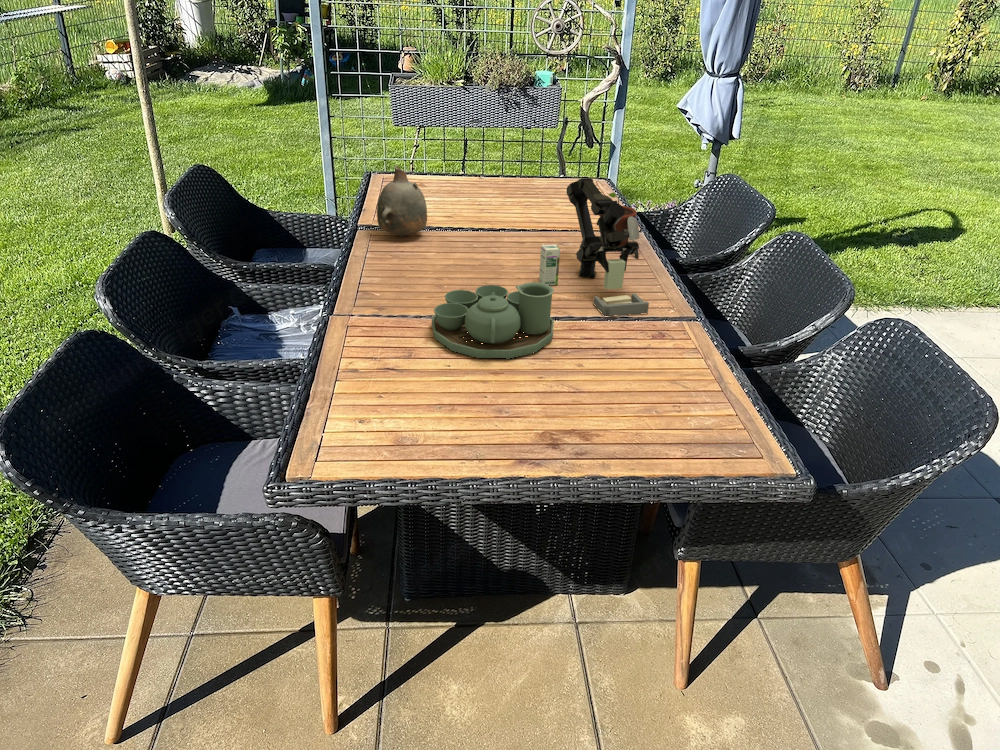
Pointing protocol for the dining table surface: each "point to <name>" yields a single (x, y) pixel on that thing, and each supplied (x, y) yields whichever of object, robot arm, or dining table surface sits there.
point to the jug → (401, 206)
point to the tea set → (495, 320)
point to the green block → (614, 274)
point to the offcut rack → (621, 305)
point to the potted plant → (627, 222)
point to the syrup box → (549, 264)
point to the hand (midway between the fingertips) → (616, 271)
